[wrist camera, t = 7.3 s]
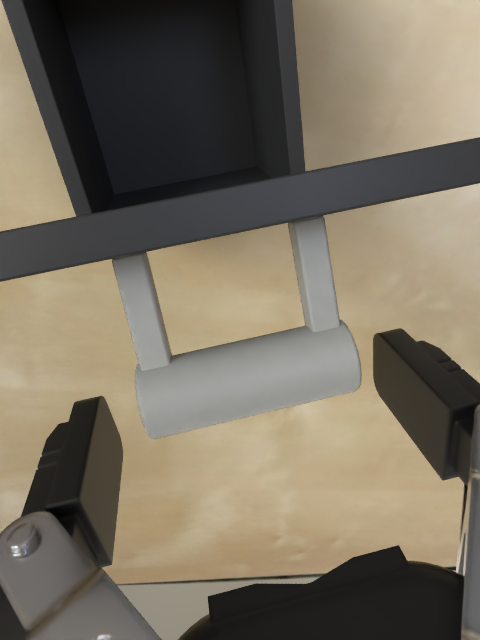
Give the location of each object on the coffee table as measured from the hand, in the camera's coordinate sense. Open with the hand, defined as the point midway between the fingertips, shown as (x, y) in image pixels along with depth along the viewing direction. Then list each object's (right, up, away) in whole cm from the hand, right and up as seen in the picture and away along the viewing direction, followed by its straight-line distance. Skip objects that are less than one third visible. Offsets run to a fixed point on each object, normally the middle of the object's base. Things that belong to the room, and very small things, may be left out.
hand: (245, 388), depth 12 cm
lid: (-1, +6, +2) cm, 6 cm away
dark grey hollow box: (-5, +17, +15) cm, 23 cm away
